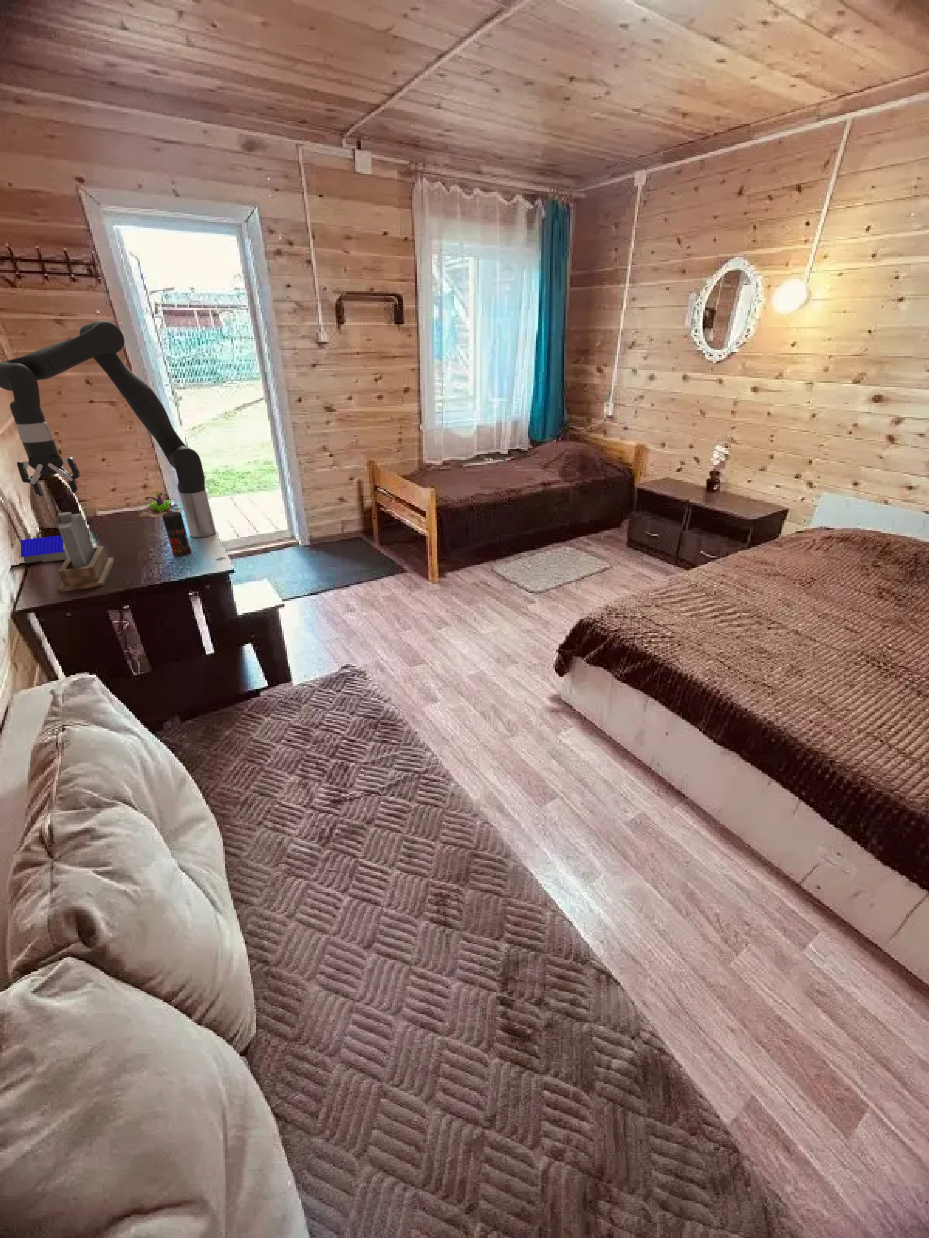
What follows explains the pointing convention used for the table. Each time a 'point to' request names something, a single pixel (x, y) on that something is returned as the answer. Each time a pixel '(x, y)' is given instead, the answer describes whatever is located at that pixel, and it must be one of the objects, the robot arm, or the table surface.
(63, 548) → the blue slatted box
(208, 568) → the table surface
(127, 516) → the table surface
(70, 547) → the hip flask
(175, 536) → the deodorant
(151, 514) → the plant
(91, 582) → the walnut open box
